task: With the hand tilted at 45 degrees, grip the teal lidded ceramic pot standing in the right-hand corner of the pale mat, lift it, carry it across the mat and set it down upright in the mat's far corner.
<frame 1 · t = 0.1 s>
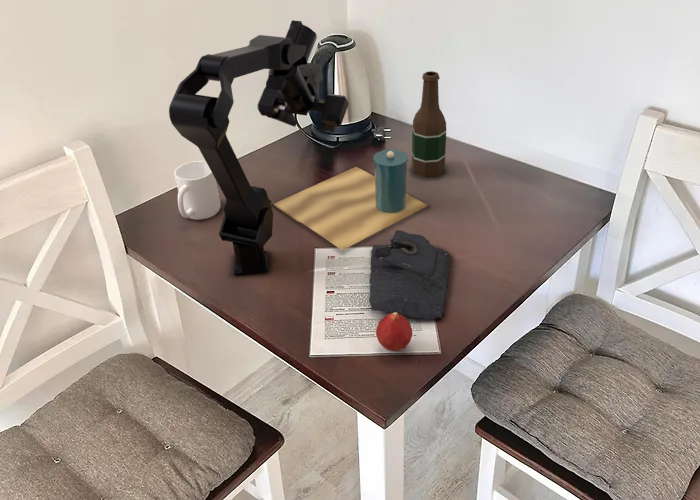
hand: (314, 127, 143), 15 cm above the table, tool tilted 35°, fingers open, 9 cm apart
pot: (390, 204, 143), point 1 cm above the table, touching mat
mat: (350, 206, 144), on the table
cup: (198, 215, 145), on the table
beer bottle: (427, 172, 156), on the table
dark slate chunk: (406, 282, 123), on the table
onion: (394, 349, 109), on the table
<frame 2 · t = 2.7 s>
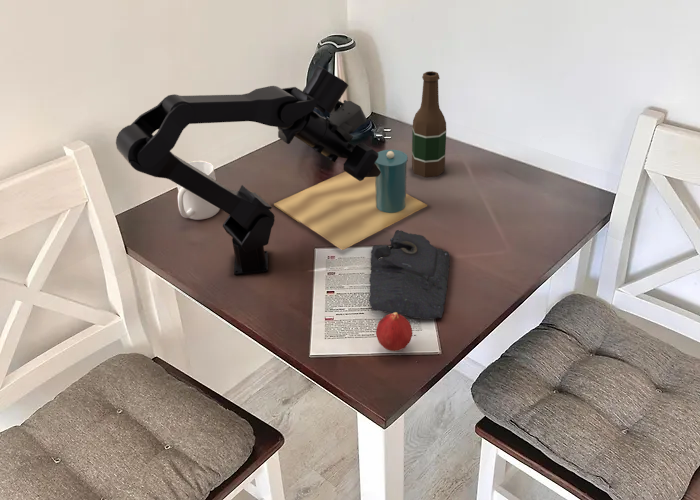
hand: (365, 165, 134), 12 cm above the table, tool tilted 45°, fingers open, 9 cm apart
nothing on the table moved.
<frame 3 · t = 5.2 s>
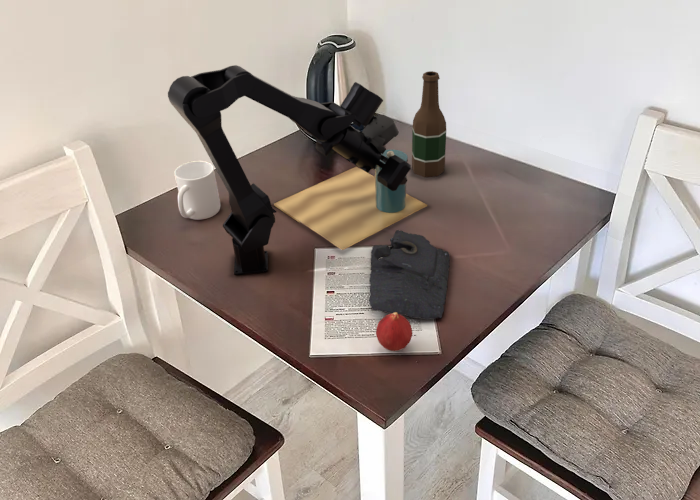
hand: (395, 175, 140), 7 cm above the table, tool tilted 45°, fingers closed on pot, 6 cm apart
pot: (390, 204, 143), point 1 cm above the table, touching gripper, mat
everything else where it was.
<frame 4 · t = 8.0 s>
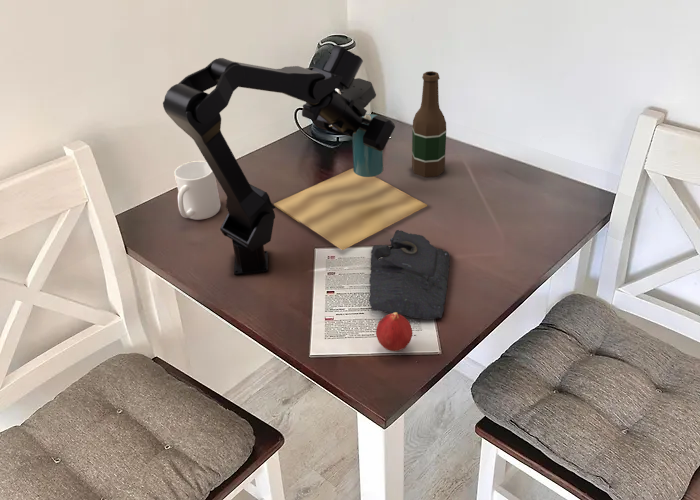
hand: (372, 139, 142), 13 cm above the table, tool tilted 45°, fingers closed on pot, 6 cm apart
pot: (368, 169, 145), point 6 cm above the table, touching gripper
everything else where it was.
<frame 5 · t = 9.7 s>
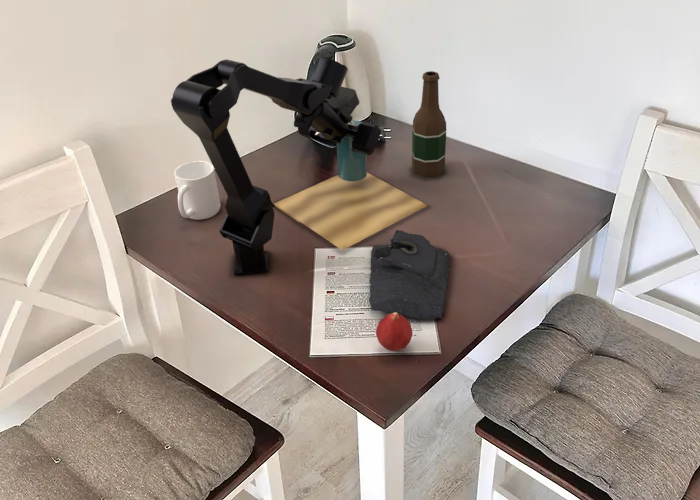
hand: (355, 144, 147), 10 cm above the table, tool tilted 45°, fingers closed on pot, 6 cm apart
pot: (352, 174, 150), point 3 cm above the table, touching gripper
everything else where it was.
when the fingers open (7 cm above the table, at t = 11.0 s): pot stays where it is, resting on mat.
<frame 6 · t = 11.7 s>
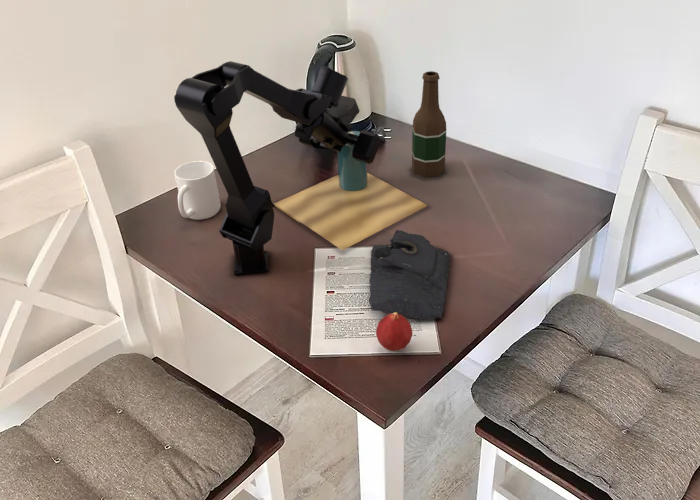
hand: (355, 152, 148), 8 cm above the table, tool tilted 45°, fingers open, 9 cm apart
pot: (353, 183, 151), point 1 cm above the table, touching mat
everything else where it was.
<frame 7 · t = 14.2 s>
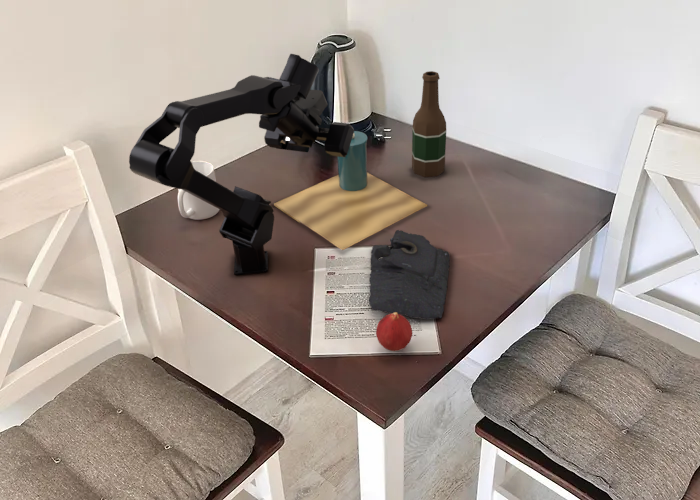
hand: (326, 152, 138), 13 cm above the table, tool tilted 40°, fingers open, 9 cm apart
nothing on the table moved.
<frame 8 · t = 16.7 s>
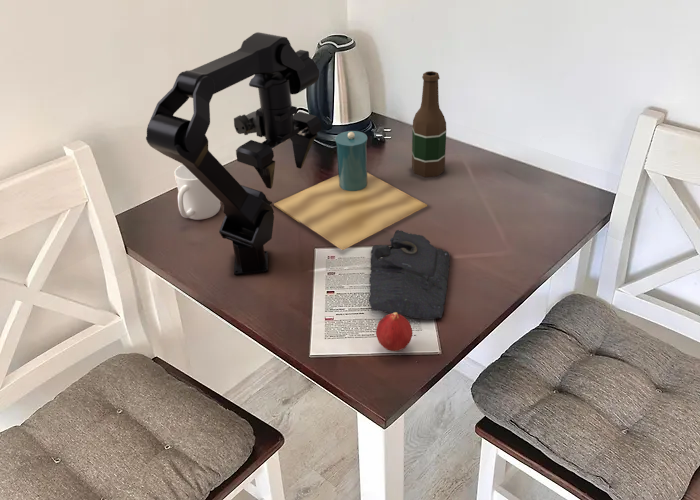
hand: (284, 177, 130), 13 cm above the table, tool pointing down, fingers open, 9 cm apart
nothing on the table moved.
at the end: pot 0.1 cm from the target spot, point 0.6 cm above the table; pot tilted 0°; the gripper is holding nothing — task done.
